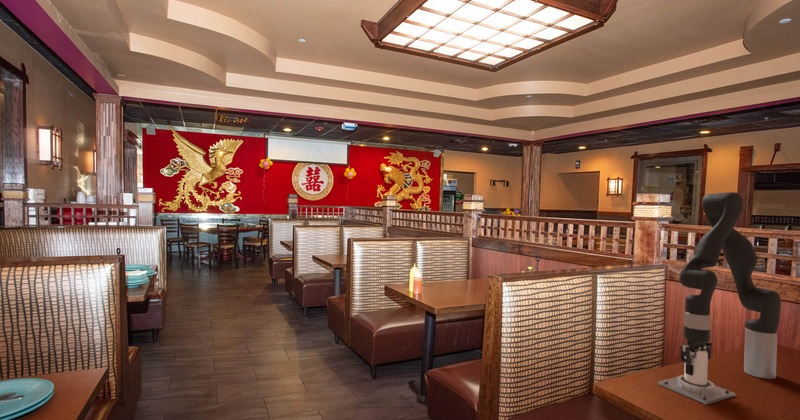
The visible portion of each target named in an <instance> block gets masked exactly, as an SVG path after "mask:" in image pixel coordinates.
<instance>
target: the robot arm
mask: <svg viewBox="0 0 800 420" xmlns="http://www.w3.org/2000/svg"><path fill="white" fill-rule="evenodd" d="M701 206H702V210H703V213H704V215H705V217H706V219H707V221H708V223H709V225H710V227H711V228H710V229H709V230H708V231H707V232H705V234H703V236H701V238H700V239H699V240H698V242H697V245H696V248H695V250H694V253H693V256H692V257H691V258H690V260H688V262H687V263H686V265H684V267H683V268H682V269H681V271H680V274H679V281H680V284H681V285H682V286H683V287H685V288H689V289H695V290H701V291H700V293H699V294H689V295H687V296H685V300H684V301H685V302H684V305H685V306H684V315H683V337H684V339H686V340H687V342H686V343H685V344H684V345H683V344H680V348H679V349H680V362H682V363H684V365H685V364H686V367H685V366H684V367H685V373H686V374H688V375H693V368H694V365H693V364H694V359H696V357H697V352H698V351H701V350H705V349H706V352H707V354H708V360H711V358H712V350H713V349H712V347H713V342H710V341H711V325H712V324H711V322H712V321H711V303H712V299H713V295H714V292H715V291H716V288H717V285H718V276H717V275H716V273H715V272H713V271H712V270H709V269H708V268H714V267H715V266H716V265H717V264H718V261H719V258H720V255H721V251H722V253H723V256H724V258H725V261H726V263H727V264H728V267H729V269H730V272H731V275H732V278H733V280H734V284H735V288H736V291H737V295H738V299H739V301H740V304H741V305H742V307H743V308H745V309H747V310H748V311H753V312H757V313H759V317H758V318H756V319H755V318H754V319H753V318H752V319H746V320H745V323H744V353H743V354H744V356H743V359H744V360H743V371H744V373H745V374H747V375H750V376H753V377H756V378H760V379H764V380H765V379H767V380H773V379H774V380H775V379H776V378H777V352H778V351H777V348H778V346H777V345H778V342H777V341H778V339H777V338H778V328H779V324H780V318H781V307H782V306H781V305H782V299H781V295H780V294H779V293H778V291H775V290H771V289H766V288H761V287H757V286H755V284H754V282H753V279H752V274H753V272H754V271H755V268H756V267H757V264H758V255H757V253H756V250H755V248H754V245H753V244H752V242H751V241H750V240H749V239H748V238H747V237H746V236H745V235H743V234H742V233H741V232H739V231H738V230H737V229H735V228H734V227H735V225H736V223H737V221H738V220H739V218H740V217H741V215H742V212H743V210H744V209H743V208H744V199H743V197H742V196H741V195H740V194H739V193H738V192H734V191H731V192H730V191H729V192H727V191H726V192H717V193H715V192H714V193H708V194H706V195H704V196H703V198H702V200H701ZM706 268H707V269H706ZM695 350H697V351H695ZM690 351H691V352H693V353H694V352H695V354H694V355H690ZM685 356H686V357H685ZM690 357H691V361H690Z"/></svg>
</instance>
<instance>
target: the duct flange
mask: <svg viewBox="0 0 800 420" xmlns="http://www.w3.org/2000/svg"><path fill="white" fill-rule="evenodd" d="M657 384H658V386H661V387H663V388H666V389H669V390H670V391H672V392H675V393H678V394H680V395H682V396H684V397H687V398H690V399H692V400H694V401H697V402H699V403H702V404H704V405H706V406H707V405H710V404H714V403H716V402H720V401H724V400H726V399H730V398H733V397H736V392H733V391H730V390H729V389H725V388H722V387H720V386H717V385H715V383H713V382H712V381H710V380H708V379H707V384H706V385H703V386H700V385H694V384H691V383H689V382H687V381H686V380H685V379H684V374H681V375H678V376H676V377H675V376H674V377H671V378H667V379H663V380H658V381H657Z"/></svg>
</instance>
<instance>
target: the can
mask: <svg viewBox="0 0 800 420" xmlns="http://www.w3.org/2000/svg"><path fill="white" fill-rule="evenodd" d="M695 351H697V350H695ZM694 354H695V352H694V353H693V352H691V351H690V355H694ZM685 357H686V356H684V358H685ZM690 361H691V357H690ZM708 363H709V359H708V352H707V351H706V349H705V350H701V351H698V352H697V357H696V359H694V364H693V365H694V368H693V375H688V374H686V373H685V367H686V364H685V363H684V368H683V369H684V373H683V375H684V379H685V380H686V381H687V382H689V383H691V384H694V385H700V386H703V385H706V384H707V380H708Z"/></svg>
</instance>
